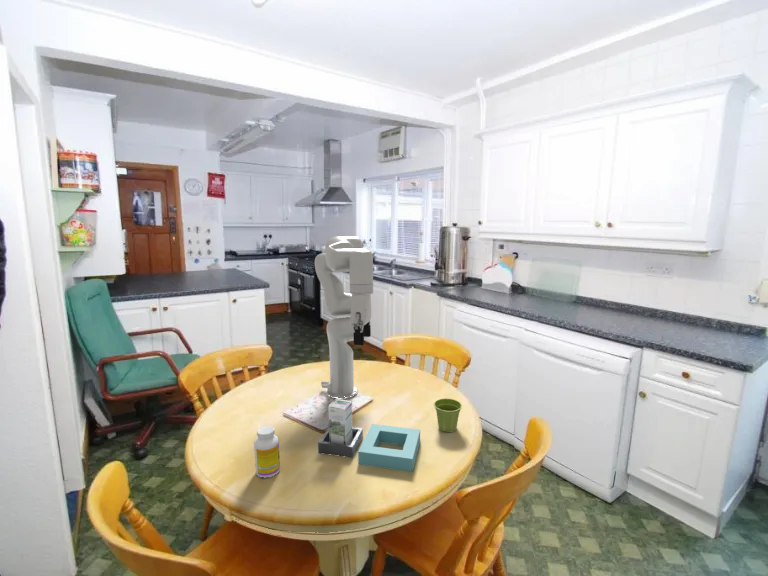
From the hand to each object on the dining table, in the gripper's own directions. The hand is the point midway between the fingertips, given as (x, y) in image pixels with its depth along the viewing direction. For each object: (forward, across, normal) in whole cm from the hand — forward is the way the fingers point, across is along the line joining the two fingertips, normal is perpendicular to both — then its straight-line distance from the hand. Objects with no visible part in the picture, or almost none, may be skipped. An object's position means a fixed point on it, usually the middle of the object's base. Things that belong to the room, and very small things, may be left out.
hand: (362, 340), depth 128 cm
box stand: (+32, +10, -5) cm, 34 cm away
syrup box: (+32, +10, -5) cm, 34 cm away
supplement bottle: (+32, +26, -22) cm, 47 cm away
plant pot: (+32, -7, +28) cm, 43 cm away
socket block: (+32, +11, +11) cm, 35 cm away
